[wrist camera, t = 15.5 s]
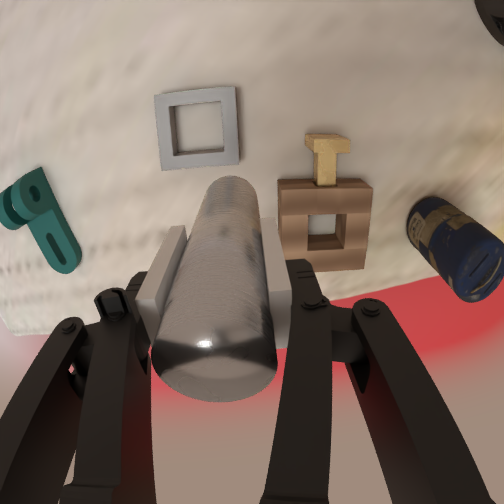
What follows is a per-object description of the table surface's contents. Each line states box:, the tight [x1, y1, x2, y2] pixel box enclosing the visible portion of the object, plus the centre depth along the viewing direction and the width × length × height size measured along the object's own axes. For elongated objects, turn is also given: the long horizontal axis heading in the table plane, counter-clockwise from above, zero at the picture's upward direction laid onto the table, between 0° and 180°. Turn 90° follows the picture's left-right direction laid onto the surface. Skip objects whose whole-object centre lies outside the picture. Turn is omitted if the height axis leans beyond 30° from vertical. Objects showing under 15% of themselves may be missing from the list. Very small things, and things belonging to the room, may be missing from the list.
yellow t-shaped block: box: [305, 134, 350, 187], centre depth 39 cm, size 10×4×6 cm, turn 3°
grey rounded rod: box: [151, 176, 278, 402], centre depth 16 cm, size 4×4×16 cm
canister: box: [407, 197, 504, 303], centre depth 37 cm, size 10×10×18 cm
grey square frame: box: [154, 86, 240, 171], centre depth 37 cm, size 10×10×3 cm
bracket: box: [0, 167, 82, 274], centre depth 41 cm, size 18×7×8 cm, turn 18°
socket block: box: [278, 179, 373, 272], centre depth 43 cm, size 12×12×5 cm
